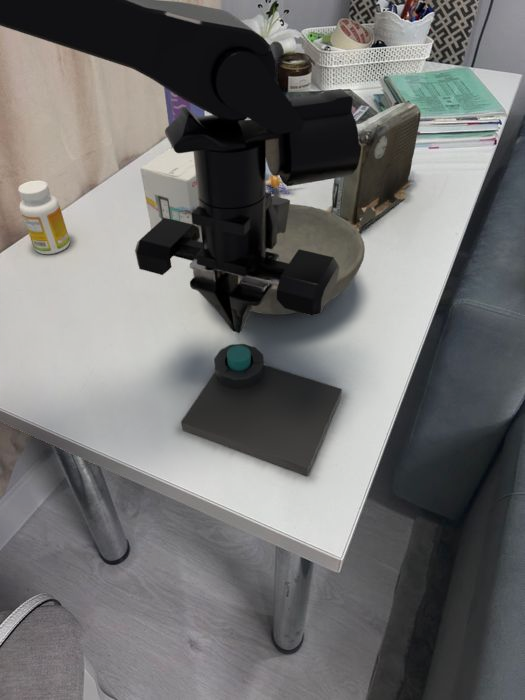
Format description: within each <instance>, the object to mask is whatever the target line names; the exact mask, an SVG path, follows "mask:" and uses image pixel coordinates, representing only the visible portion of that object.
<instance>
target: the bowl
mask: <svg viewBox="0 0 525 700" xmlns="http://www.w3.org/2000/svg"><path fill="white" fill-rule="evenodd" d="M299 249H300V250H305V251H309V252H313V253H317V254H322V255H326V256H330V257H334V259H335V260H336V262H337V264H338V265H339V275H338V282H337V284H336V285H335V287H334V289H333V291H332V293H331V295H330V297H329V298H328V300H327V302H326V303H328V302H330V301H332V300H333V299H335V298H336V297H338V296H339V295H340V294H342V293H343V292H344V291H345V290H346V289H347V288H348V287H349V286H350V284H351V283H352V282H353V280H354V279H355V277H356V276H357V273H358V272H359V270H360V268H361V266H362V263H363V261H364V259H365V253H366V249H365V241H364V240H363V237H362V235H361V234H360V231H359V232H358V230H357V229H356V228H355V227H354V226H353V225H352V224H351V223H349V222H348V221H346V220H345V219H343V218H341V217H339V216H337V215H335V214H332V213H330V212H328V211H326V210H324V209H321V208H317V207H314V206H309V205H303V204H296V203H295V204H294V203H290V205H289V212H288V218H287V225H286V231H285V232H284V233H278V234H277V243H276V245H275V246H274V247H273V249H268V248H267V249H266V252H270V253H275V254H278V255H279V256H280V258H279V260H278V261H281V262H285V263H290V261H291V260H292V258H293V257H294V255H295V254H296V252H297V251H298V250H299ZM240 280H241V279H240V277H239V278H238V284H239V283H240ZM277 287H278V286H276V285H273V287H272V288H271V290H270V291H269V293H268V294H267V296H266V297H265V298H264V300H263V301H262V303H261V304H260V305H258V306H253V307H252V309H251V311H250V312H255V313H258V314H263V315H288V314H289V315H290V314H296V313H298V312H296V311H292V310H289V309H285V308H284V307H283V306H282V305H281V304H280V303H279V301H278V300H277Z"/></svg>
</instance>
